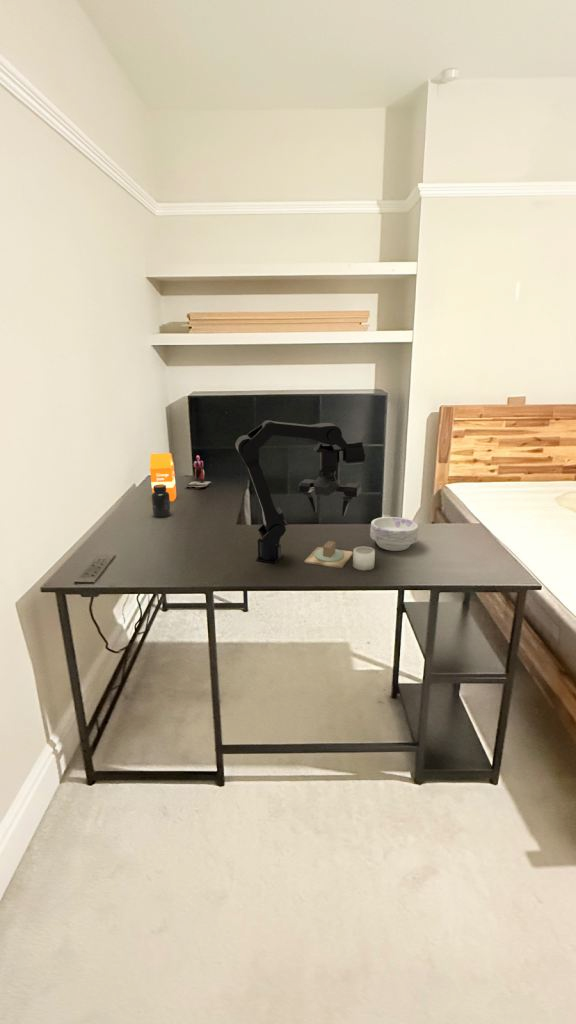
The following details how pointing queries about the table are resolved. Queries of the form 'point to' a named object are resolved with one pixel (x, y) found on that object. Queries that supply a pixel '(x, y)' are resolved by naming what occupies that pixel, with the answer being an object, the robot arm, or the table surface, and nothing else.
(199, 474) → the statue
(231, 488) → the table surface
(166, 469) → the orange juice
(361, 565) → the ramekin
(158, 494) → the supplement bottle
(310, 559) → the mat
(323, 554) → the cover
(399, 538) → the paper bowls
